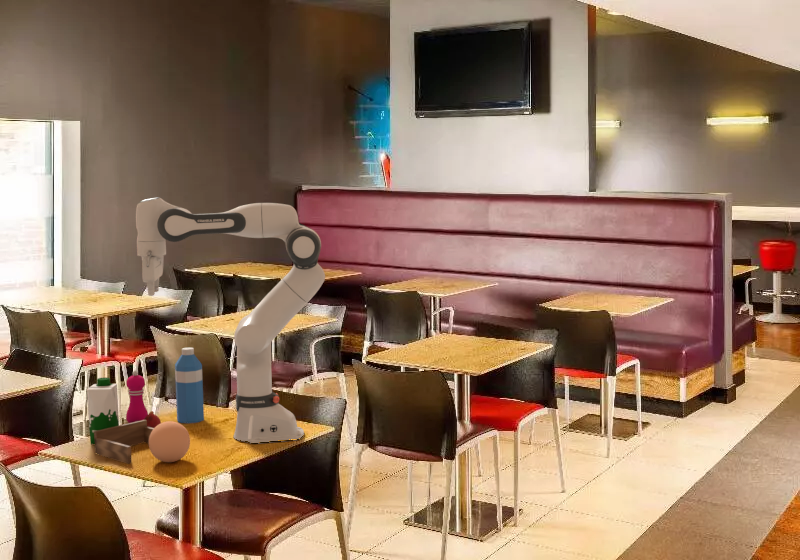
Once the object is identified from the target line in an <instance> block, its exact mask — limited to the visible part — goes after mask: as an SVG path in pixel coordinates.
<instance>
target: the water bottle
mask: <svg viewBox="0 0 800 560" xmlns="http://www.w3.org/2000/svg"><path fill="white" fill-rule="evenodd" d="M194 349H195V348H194V347H183V348H181V355H180V356H179V357H178V359H177V361H176V362H175V364H174V373H175V376H174V377H175V378H174V380H175V398H176V399H175V400H176V403H175V404H176V422H177V423H179V424H196V423H200V422H203V421H205V414H204V413H205V412H204V388H203V387H204V385H203V384H204V382H203V365H202V363H201V361H200V360H199V359H198V357H197V356H196V354H195V350H194Z"/></svg>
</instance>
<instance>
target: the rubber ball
mask: <svg viewBox="0 0 800 560" xmlns="http://www.w3.org/2000/svg"><path fill="white" fill-rule="evenodd" d="M190 446H191V437H190V434H189V431H188V429H187V428H186V427H185V426H184V425H183V424H182V423H179V422H178V421H172V420H171V421H170V420H169V421H168V420H167V421H163V422H161V424H159V425H157V426H156V427H155V428H154V429H153V430H152V432H151V434H150V437H149V444H148V447H149V451H150V453H151V454H152V455H153V457H154V458H155V459H157V460H159V461H160V462H164V463H174V462H177V461H180V459H182V458H184V456H186V454H188V451H189V449H190Z"/></svg>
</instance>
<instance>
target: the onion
mask: <svg viewBox="0 0 800 560" xmlns="http://www.w3.org/2000/svg"><path fill="white" fill-rule="evenodd" d="M144 420H147V426H148V427H152V428H155V427H156V426H157V425H159V424H161V423H162V420H161V419H160V417H159V416H158V415H157V414H155V413H154V411H152V410H151V411H149V413H148V415H147V416H146V417H145V418H144Z"/></svg>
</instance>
